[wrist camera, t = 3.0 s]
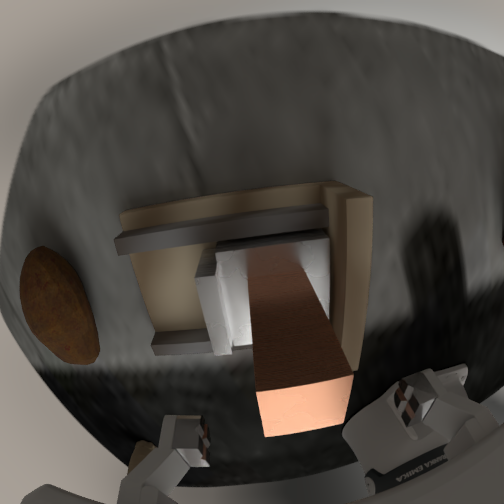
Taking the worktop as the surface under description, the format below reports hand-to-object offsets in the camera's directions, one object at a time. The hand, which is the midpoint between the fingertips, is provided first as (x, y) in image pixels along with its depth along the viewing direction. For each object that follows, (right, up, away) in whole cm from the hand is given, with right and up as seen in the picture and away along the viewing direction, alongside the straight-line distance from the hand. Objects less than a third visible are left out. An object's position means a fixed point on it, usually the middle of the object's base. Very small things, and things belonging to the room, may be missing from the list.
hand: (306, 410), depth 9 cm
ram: (-1, +4, +11) cm, 12 cm away
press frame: (-3, +4, +12) cm, 14 cm away
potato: (-19, +2, +13) cm, 23 cm away
